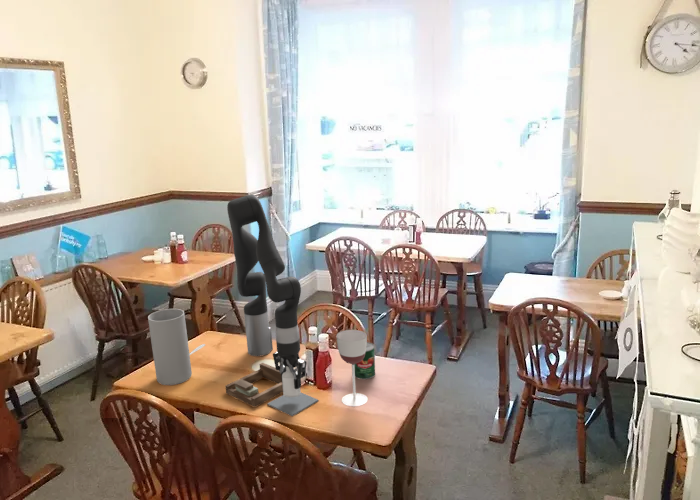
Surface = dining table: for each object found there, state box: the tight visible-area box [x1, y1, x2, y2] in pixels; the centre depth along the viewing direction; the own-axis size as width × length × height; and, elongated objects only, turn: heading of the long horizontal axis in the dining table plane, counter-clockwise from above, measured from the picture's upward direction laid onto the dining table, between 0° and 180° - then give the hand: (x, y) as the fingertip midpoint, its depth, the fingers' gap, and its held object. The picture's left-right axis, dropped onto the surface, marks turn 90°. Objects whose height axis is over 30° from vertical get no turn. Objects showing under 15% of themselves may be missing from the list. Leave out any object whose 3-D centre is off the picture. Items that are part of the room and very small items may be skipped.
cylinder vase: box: [147, 308, 193, 386], centre depth 208 cm, size 12×12×25 cm
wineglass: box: [336, 329, 369, 407], centre depth 187 cm, size 9×10×23 cm
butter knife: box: [189, 343, 206, 356], centre depth 228 cm, size 1×27×3 cm
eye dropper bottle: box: [282, 366, 302, 397], centre depth 187 cm, size 4×6×12 cm
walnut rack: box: [224, 362, 283, 408], centre depth 199 cm, size 17×16×5 cm
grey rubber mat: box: [267, 392, 320, 417], centre depth 190 cm, size 12×12×1 cm
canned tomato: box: [354, 341, 376, 380], centre depth 206 cm, size 8×8×11 cm
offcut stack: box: [234, 380, 260, 397], centre depth 195 cm, size 4×9×5 cm, turn 49°
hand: (291, 385), depth 188 cm, fingers closed on eye dropper bottle, 5 cm apart
